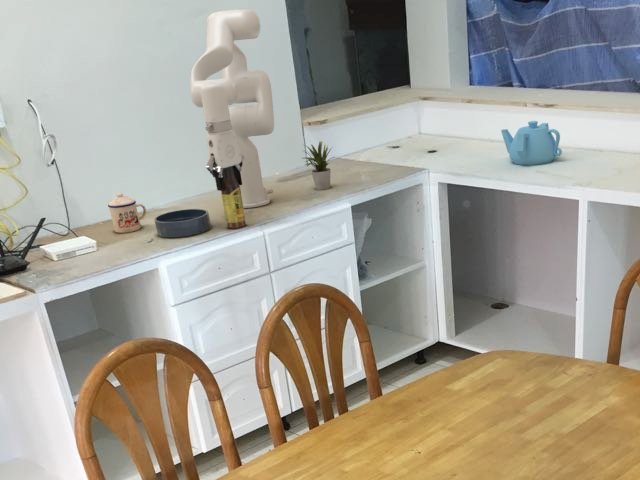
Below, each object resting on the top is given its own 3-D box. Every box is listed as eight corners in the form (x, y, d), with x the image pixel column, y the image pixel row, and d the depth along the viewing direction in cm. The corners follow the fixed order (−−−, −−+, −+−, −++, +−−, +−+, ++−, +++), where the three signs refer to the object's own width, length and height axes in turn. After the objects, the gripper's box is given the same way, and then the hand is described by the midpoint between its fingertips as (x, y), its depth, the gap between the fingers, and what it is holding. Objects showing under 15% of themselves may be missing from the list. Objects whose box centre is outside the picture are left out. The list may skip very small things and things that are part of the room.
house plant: (304, 185, 349) (298, 138, 340) (341, 181, 348) (335, 134, 339) (301, 193, 337) (294, 145, 328) (339, 189, 336) (333, 141, 327)
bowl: (185, 222, 313) (182, 207, 310) (221, 226, 304) (219, 210, 301) (146, 236, 301) (143, 220, 299) (183, 240, 292) (180, 224, 290)
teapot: (549, 153, 359) (549, 114, 351) (566, 162, 343) (566, 121, 335) (501, 160, 357) (500, 121, 349) (516, 169, 341) (515, 128, 333)
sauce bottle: (242, 228, 299) (231, 163, 288) (224, 229, 300) (212, 164, 289) (249, 223, 304) (238, 159, 294) (231, 224, 305) (219, 160, 295)
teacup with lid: (119, 234, 306) (110, 198, 300) (110, 230, 313) (101, 194, 307) (153, 227, 311) (145, 191, 305) (144, 223, 318) (136, 187, 312)
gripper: (207, 132, 278) (219, 194, 288) (247, 122, 290) (257, 182, 300) (190, 132, 282) (202, 193, 292) (229, 122, 294) (240, 181, 303)
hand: (229, 187), depth 296 cm, fingers open, 7 cm apart
